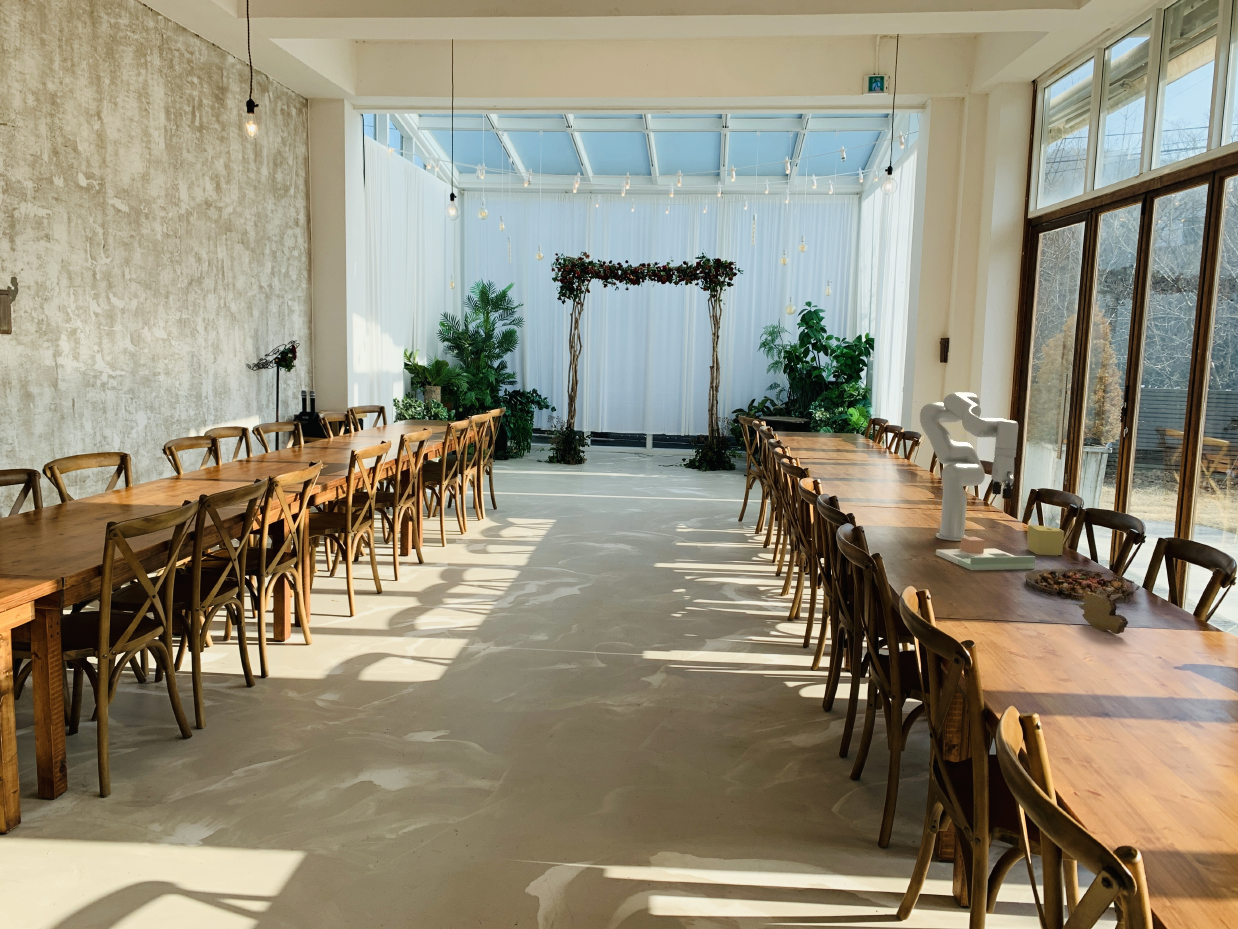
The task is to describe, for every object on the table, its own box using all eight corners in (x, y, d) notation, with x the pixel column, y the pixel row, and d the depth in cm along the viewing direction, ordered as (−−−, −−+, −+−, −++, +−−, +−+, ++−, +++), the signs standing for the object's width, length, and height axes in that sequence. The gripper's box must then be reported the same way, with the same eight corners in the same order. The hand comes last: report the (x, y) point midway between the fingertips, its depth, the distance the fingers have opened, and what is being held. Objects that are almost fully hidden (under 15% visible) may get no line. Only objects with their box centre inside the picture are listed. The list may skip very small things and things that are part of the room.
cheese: (1052, 550, 352) (1054, 525, 350) (1063, 556, 341) (1065, 531, 340) (1025, 549, 353) (1027, 524, 351) (1035, 555, 342) (1037, 530, 341)
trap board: (935, 554, 338) (936, 543, 338) (994, 553, 343) (995, 542, 342) (971, 570, 315) (972, 558, 314) (1034, 568, 319) (1035, 556, 319)
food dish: (1154, 613, 271) (1156, 588, 270) (1038, 606, 278) (1040, 582, 277) (1115, 580, 305) (1117, 558, 304) (1012, 575, 312) (1014, 553, 311)
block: (960, 549, 339) (961, 537, 338) (974, 549, 340) (975, 536, 339) (969, 553, 333) (970, 540, 332) (983, 553, 334) (984, 540, 333)
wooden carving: (1132, 638, 242) (1135, 602, 241) (1119, 639, 241) (1122, 603, 240) (1085, 620, 258) (1088, 587, 257) (1072, 621, 257) (1075, 588, 255)
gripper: (986, 449, 347) (983, 492, 350) (1004, 455, 330) (1000, 500, 332) (1005, 450, 347) (1002, 492, 349) (1024, 455, 330) (1020, 500, 332)
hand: (1001, 496), depth 341 cm, fingers open, 9 cm apart
